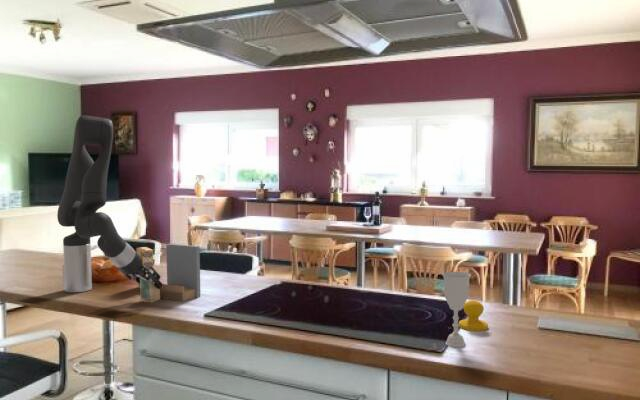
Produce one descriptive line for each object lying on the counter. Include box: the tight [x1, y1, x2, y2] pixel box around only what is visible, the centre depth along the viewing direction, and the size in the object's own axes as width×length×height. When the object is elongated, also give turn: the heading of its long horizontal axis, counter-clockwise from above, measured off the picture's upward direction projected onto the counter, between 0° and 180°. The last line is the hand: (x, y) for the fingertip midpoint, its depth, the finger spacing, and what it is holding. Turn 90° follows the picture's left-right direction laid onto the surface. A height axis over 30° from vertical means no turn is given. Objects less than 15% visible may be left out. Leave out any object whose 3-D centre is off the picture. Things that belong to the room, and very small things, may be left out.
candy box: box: [136, 246, 154, 289], centre depth 199 cm, size 9×4×15 cm, turn 33°
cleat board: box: [160, 243, 201, 302], centre depth 186 cm, size 14×8×18 cm, turn 62°
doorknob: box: [458, 299, 489, 332], centre depth 150 cm, size 8×8×8 cm
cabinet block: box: [139, 274, 161, 304], centre depth 181 cm, size 5×4×9 cm
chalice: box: [441, 271, 472, 348], centre depth 135 cm, size 7×7×18 cm
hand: (152, 285), depth 182 cm, fingers open, 7 cm apart
